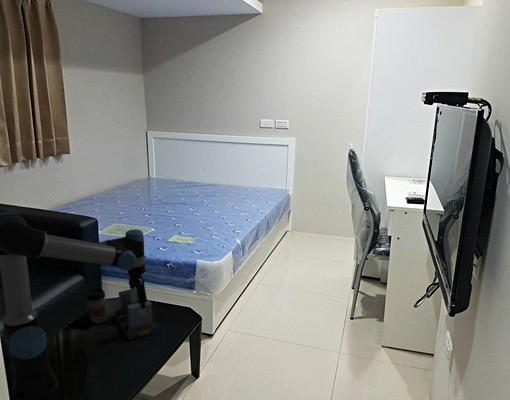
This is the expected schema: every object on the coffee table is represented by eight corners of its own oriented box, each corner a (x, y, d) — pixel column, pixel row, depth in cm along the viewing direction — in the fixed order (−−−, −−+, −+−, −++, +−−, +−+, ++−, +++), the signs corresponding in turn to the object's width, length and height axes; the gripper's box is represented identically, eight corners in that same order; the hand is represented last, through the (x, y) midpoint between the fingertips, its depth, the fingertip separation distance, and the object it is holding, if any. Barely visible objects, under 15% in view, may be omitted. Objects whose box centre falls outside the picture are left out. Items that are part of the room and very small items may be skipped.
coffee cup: (93, 315, 205) (90, 287, 201) (110, 316, 205) (107, 288, 201) (86, 324, 197) (82, 296, 193) (103, 325, 197) (100, 296, 193)
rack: (128, 341, 185) (126, 314, 181) (115, 315, 206) (112, 290, 202) (159, 332, 192) (157, 305, 188) (143, 307, 213) (141, 283, 209)
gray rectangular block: (131, 333, 188) (129, 309, 185) (128, 328, 191) (127, 305, 188) (152, 327, 193) (151, 303, 190) (150, 323, 196) (149, 300, 193)
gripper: (153, 273, 175) (155, 318, 181) (136, 253, 196) (138, 294, 201) (135, 276, 172) (137, 322, 177) (120, 256, 192) (122, 298, 198)
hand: (138, 307), depth 189 cm, fingers open, 13 cm apart
